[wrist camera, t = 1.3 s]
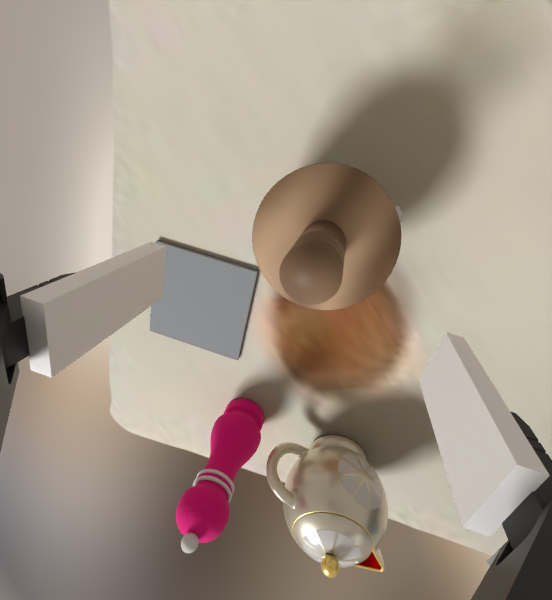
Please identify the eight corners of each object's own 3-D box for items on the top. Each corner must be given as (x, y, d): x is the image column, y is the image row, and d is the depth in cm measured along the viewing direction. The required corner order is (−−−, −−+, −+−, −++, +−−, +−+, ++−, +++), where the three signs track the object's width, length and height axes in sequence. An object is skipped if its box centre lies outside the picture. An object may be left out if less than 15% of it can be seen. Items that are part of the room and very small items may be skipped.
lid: (425, 186, 26) (464, 199, 17) (368, 321, 31) (373, 387, 22) (273, 145, 27) (231, 137, 18) (244, 282, 33) (201, 329, 24)
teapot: (406, 455, 47) (429, 590, 32) (351, 499, 53) (349, 628, 38) (303, 390, 46) (279, 497, 32) (259, 442, 52) (222, 551, 38)
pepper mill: (271, 403, 49) (222, 544, 31) (263, 436, 52) (215, 582, 34) (226, 389, 49) (154, 518, 32) (221, 423, 53) (153, 558, 35)
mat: (258, 271, 40) (257, 272, 40) (238, 358, 47) (237, 360, 46) (158, 240, 42) (155, 241, 41) (152, 328, 48) (149, 330, 47)
